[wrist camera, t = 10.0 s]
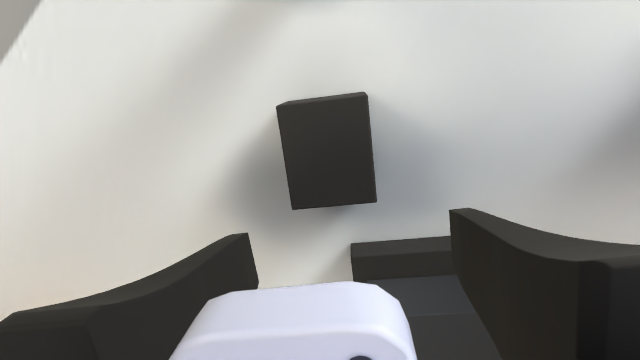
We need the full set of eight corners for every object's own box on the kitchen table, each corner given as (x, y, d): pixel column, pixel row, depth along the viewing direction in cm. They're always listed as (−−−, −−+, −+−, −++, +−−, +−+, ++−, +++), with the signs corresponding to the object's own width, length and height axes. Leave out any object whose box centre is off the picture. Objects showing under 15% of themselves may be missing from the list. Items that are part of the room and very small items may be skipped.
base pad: (481, 233, 22) (492, 246, 20) (481, 341, 24) (491, 362, 22) (350, 243, 23) (350, 257, 21) (362, 347, 25) (363, 367, 23)
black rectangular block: (478, 272, 21) (503, 310, 17) (478, 344, 22) (502, 392, 19) (365, 279, 21) (368, 317, 18) (372, 349, 23) (376, 396, 19)
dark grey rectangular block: (364, 91, 20) (367, 94, 17) (373, 184, 21) (377, 202, 18) (286, 101, 20) (275, 105, 17) (300, 191, 22) (291, 210, 19)
